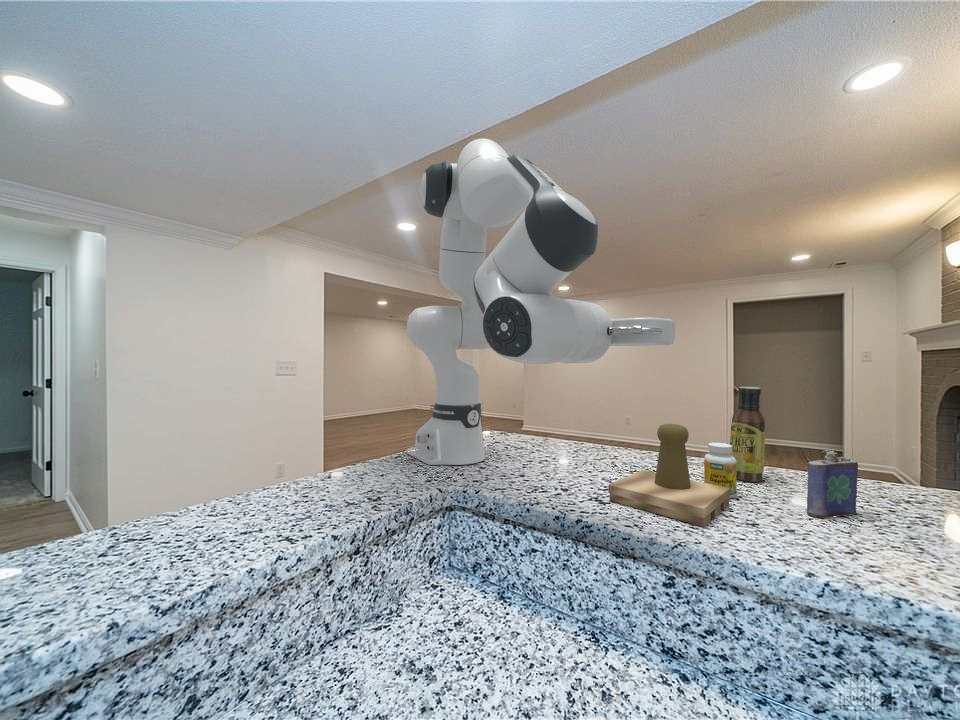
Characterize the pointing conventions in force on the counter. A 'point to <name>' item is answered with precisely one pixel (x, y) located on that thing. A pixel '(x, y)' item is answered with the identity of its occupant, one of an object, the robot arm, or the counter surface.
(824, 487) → the flask
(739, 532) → the counter surface
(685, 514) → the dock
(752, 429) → the sauce bottle
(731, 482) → the supplement bottle
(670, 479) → the cork
